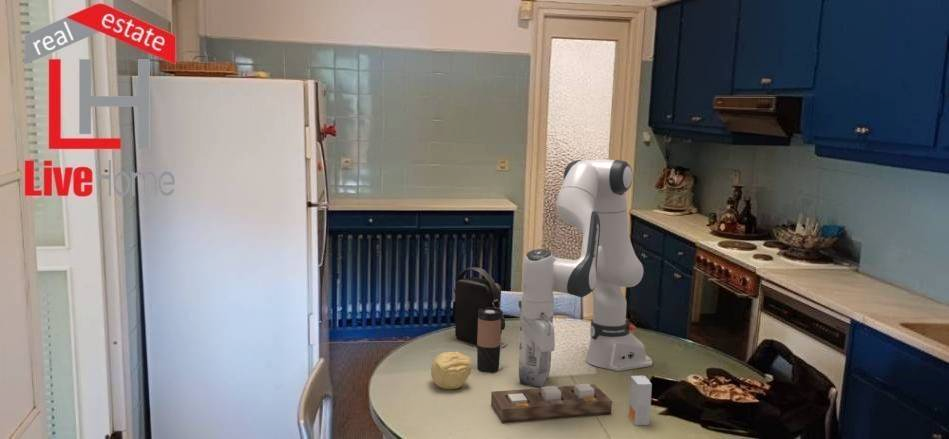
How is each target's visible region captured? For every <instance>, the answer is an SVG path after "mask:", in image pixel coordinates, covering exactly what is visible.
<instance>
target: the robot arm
mask: <svg viewBox="0 0 949 439" xmlns="http://www.w3.org/2000/svg"><path fill="white" fill-rule="evenodd" d="M632 170H633V169H632V166H631V165H630V164H629V163H628V161H626V160H622V159H621V160H620V159H608V158H607V159H606V158H597V159H585V160H581V159H579V160H577V159H576V160H573V161H571V162H569V163H567V165H566V166H565V169H564V172H563V182H562V183H561V187H560V189H559V192H558V195H557V198H556V204H555V208H556V211H557V215H558V216H559V217H560V218H561V220H563V221H564V222H565V223H566V224H567V225H569V226H571V227H573V228H575V229H576V230H578V231H580V232H581V233H582V242H581V252H580V257H578V259H570V258H561V257H556V256H554V255H553V252H552V251H550V250H549V249H548V250H547V249H545V248H544V249H543V248H538V249H533V250H530V251H528V252H527V253H526V254H525V256H524V260H523V265H522V278H521V279H522V280H521V282H522V287H523V292H522V294H521V299H518V300H517V301H518V304H517V305H518V308H519V322H520V323H519V324H521V329H522V330H523V331H524V332H525V334H526V335H527V336H528V337H529V338H530V339H531V346H532V354H533V355H534V356H535V357H536V358H540V357H541V351H542V352H550V351H551V352H553V351H554V350H555V347H556V344H555V343H556V340H555V339H556V338H555V335H556V334H555V326H554V324H552V323H551V322H550V319H549V318H550V317H552V316H553V317H554V310H555V308H554V307H555V306H554V305H555V302H554V300H555V297H554V293H553V292H556V293H557V292H558V293H562V294H567V295H570V296H575V297H579V298H584V297H586V296H588V295H589V294H591V293H592V319H591V320H590V329H589V330H590V340H589V346H588V351H587V353H586V356H585V362H587V363H588V364H590V365H591V366H594V367H598V368H602V369H608V370H611V371H615V372H621V371H627V370H633V369H640V368H641V369H642V368H646V367H651V366H653V360H652V358H650V356H648V355H647V352H646V348H645V344H644V343H643V342H642V341H641V340H639V339H638V337H636V336H635V335H633V333H631V332H635V331H636V329H637V328H636V326H635V325H633V324H630V323H629V322H627V321H626V319H627V318H626V317H627V306H628V305H627V299H626V297H625V295H624V293H623V290H622V288H633V287H635V286H638V284H639V283H640V282H641V281H642V278H643V276H644V265H643V264H642V262H641V261H640V259H639V258H638V257H637V255H636V253H635V250H634V247H633V245H632V241H631V237H630V234H629V222H628V201H627V195H626V192H628V190H630V188H631V186H632V183H633V171H632Z"/></svg>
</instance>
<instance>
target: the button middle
mask: <svg viewBox="0 0 949 439" xmlns="http://www.w3.org/2000/svg"><path fill="white" fill-rule="evenodd" d="M557 387H558V386H557V385H551V386H549V385H548V386H541V387H540V388H541V397H542V399H543V400H544V401H553V400H561V391H560V390H559V389H558V388H557Z"/></svg>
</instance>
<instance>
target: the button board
mask: <svg viewBox="0 0 949 439" xmlns="http://www.w3.org/2000/svg"><path fill="white" fill-rule="evenodd" d="M589 385H590V386H591V387H592V388H593V389H594V397H592V398H582V399H578V398H577V397H576V396H575V395H574V385H569V386H567V385H565V386H564V385H563V386H556V387H557V388H558V389H559V390H560V391H561V400H553V401H544V400H543V399H542V397H541V388H542V387H536V388H525V389H524V388H522V389H509V390H496V391H491V393H490V394H491V397H490V405H491V407H492V409H493V411H494V412H495V414H496V416H497V417H498V419H499V420H500V423H501V424H510V423H511V424H512V423H521V422H522V423H523V422H532V421H533V422H534V421H536V422H537V421H545V420H558V419H568V418H571V419H572V418H581V417H582V418H583V417H593V416H605V415H607V416H608V415H612V407H613V400H612V399H610V397H608V395H607V394H606V393H605V392H604V391H602V389H601V388H599V386H598V385H597V384H596V383H595V384H593V383H592V384H589ZM521 393H523V394H524V396H525V397H526V399H527V403H516V404H510V403H509V401H508V394H521Z"/></svg>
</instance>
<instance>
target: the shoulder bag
mask: <svg viewBox="0 0 949 439" xmlns="http://www.w3.org/2000/svg"><path fill="white" fill-rule="evenodd" d="M469 271H475V272H477V273H479V274H480V275H481V276H483V277H484V278H485V279H484V278H480V277H475V276H474V277H471V276H470V277H466V278H465V275H466V274H467V272H469ZM453 292H454V294H455V300H453V302H452V317H453V318H454V326H455V329H454V333H453V334H449V335H448V336H445V337H444V339H447V340H451V341H455V342H458V343H463V344H465V345H470V346H473V347H475V348H477V335H478V310H479V309H480V308H481V309H486V308H487V307H494V308H498V309H500V310H501V298H502V286H501V285H500V284H499V283H496V282H495V280H494V279H493V277H492V276H491V274H489V273H488V272H487V271H486V270H485V269H483V268H481V267H476V266H474V267H471V266H470V267H468V268H465V269H463V270H462V271H461V272H460V273H459V276H458V278H457V281H456V283H455V286H454V287H453ZM505 329H506V318H505V317H504V312H503V310H501V335H502V334H503V331H504V330H505ZM502 330H503V331H502ZM506 346H507V344H506V343H503V342H501V344H500V349H501V348H504V347H506Z"/></svg>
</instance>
